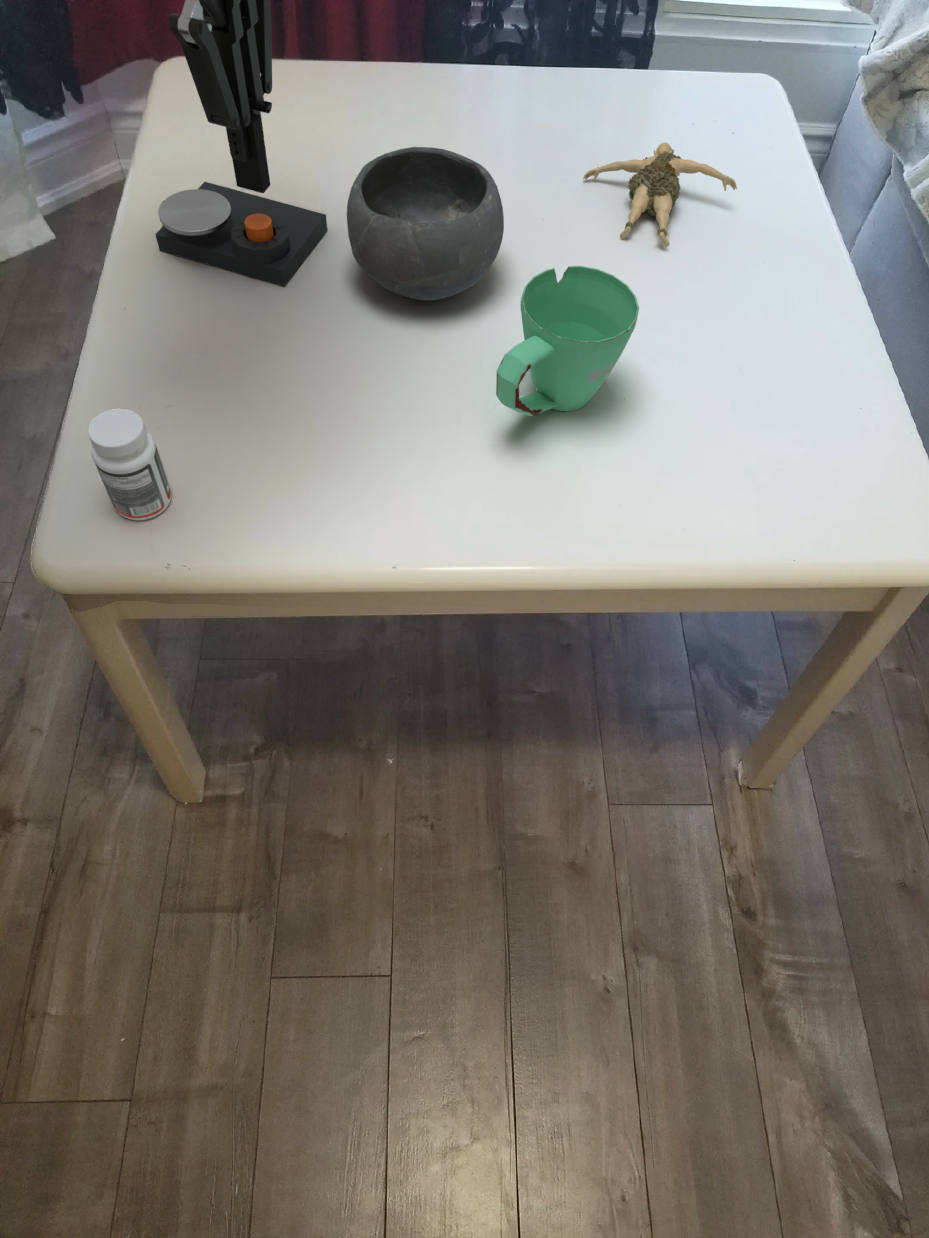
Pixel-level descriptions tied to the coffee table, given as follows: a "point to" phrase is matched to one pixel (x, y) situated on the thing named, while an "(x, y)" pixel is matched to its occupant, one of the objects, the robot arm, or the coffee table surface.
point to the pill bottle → (129, 464)
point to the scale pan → (195, 212)
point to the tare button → (259, 228)
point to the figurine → (657, 184)
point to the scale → (253, 259)
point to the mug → (567, 339)
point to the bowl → (425, 222)
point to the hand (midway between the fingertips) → (253, 185)
